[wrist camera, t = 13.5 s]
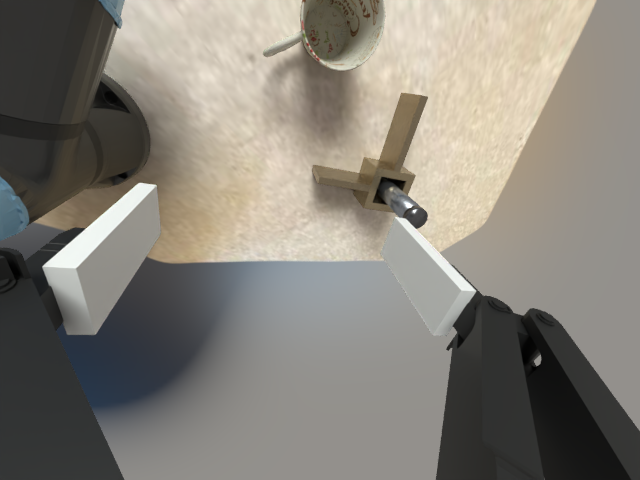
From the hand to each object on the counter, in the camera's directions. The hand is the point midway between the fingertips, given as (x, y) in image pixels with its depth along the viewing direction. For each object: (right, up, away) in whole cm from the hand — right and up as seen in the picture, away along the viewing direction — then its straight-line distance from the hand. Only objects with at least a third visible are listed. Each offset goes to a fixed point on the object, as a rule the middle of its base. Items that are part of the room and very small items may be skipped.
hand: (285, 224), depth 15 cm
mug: (+1, +25, +19) cm, 31 cm away
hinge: (+9, +14, +27) cm, 32 cm away
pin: (+12, +10, +30) cm, 34 cm away
